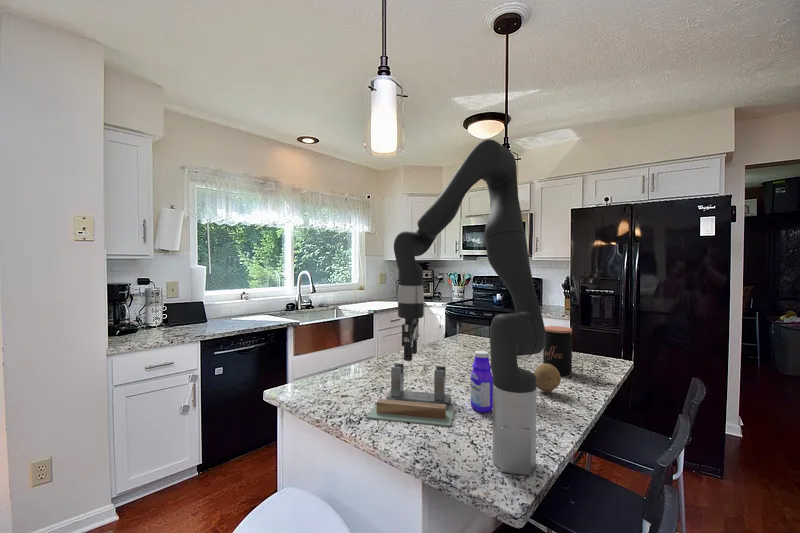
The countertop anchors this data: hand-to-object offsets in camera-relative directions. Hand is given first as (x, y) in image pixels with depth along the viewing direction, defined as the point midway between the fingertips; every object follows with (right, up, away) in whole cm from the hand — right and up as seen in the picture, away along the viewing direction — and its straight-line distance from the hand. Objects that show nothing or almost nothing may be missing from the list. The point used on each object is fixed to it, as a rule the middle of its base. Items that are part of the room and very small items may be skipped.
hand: (410, 356), depth 107 cm
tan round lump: (+47, -17, +19) cm, 54 cm away
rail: (0, -17, 0) cm, 17 cm away
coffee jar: (+61, -17, +43) cm, 76 cm away
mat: (0, -17, 0) cm, 17 cm away
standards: (+3, -17, +13) cm, 22 cm away
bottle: (+22, -17, +5) cm, 28 cm away
